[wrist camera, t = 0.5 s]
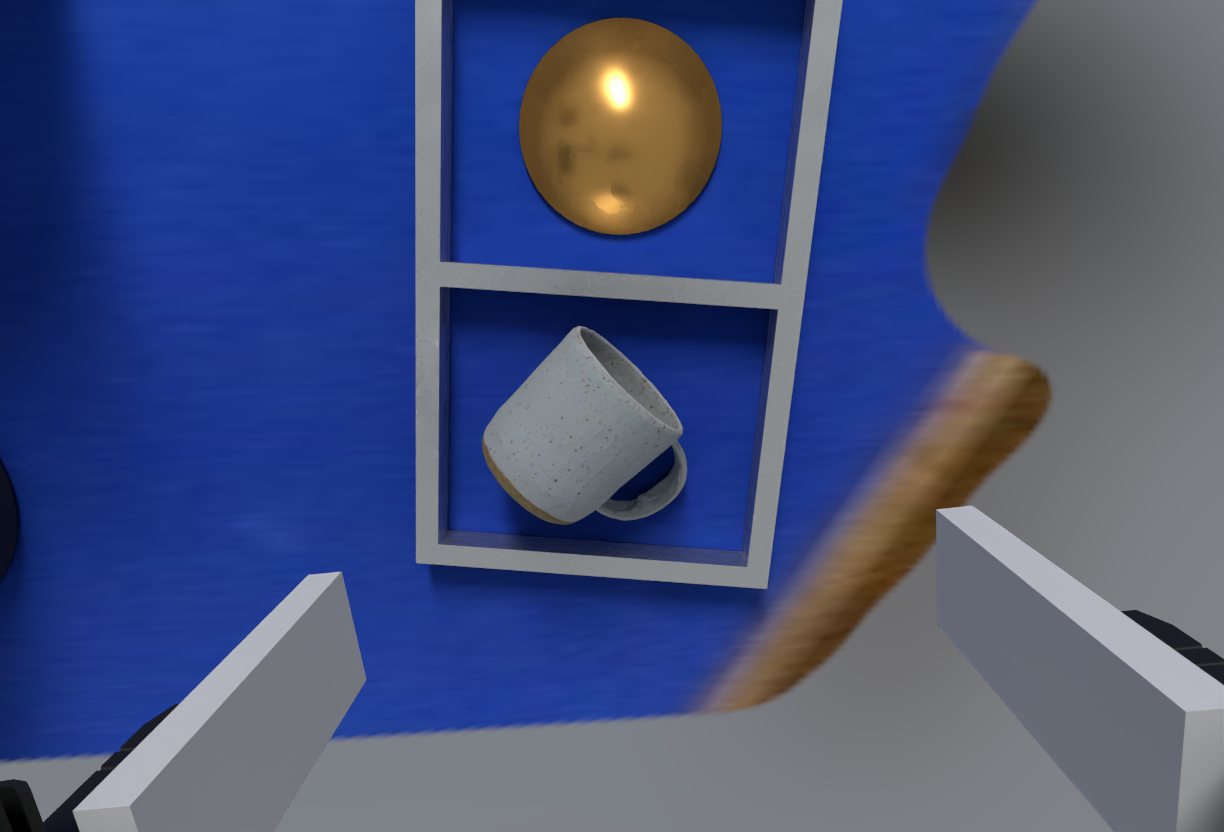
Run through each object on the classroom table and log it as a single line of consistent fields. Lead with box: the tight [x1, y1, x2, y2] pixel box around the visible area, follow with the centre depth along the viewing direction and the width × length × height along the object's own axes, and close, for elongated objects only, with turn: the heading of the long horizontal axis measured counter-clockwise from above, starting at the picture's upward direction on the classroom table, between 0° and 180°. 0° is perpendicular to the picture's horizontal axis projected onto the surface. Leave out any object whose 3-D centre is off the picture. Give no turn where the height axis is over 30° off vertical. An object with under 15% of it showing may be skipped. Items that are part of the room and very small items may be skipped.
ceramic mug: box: [482, 326, 687, 525], centre depth 34 cm, size 10×8×7 cm
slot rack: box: [415, 0, 843, 589], centre depth 34 cm, size 19×31×2 cm, turn 176°
